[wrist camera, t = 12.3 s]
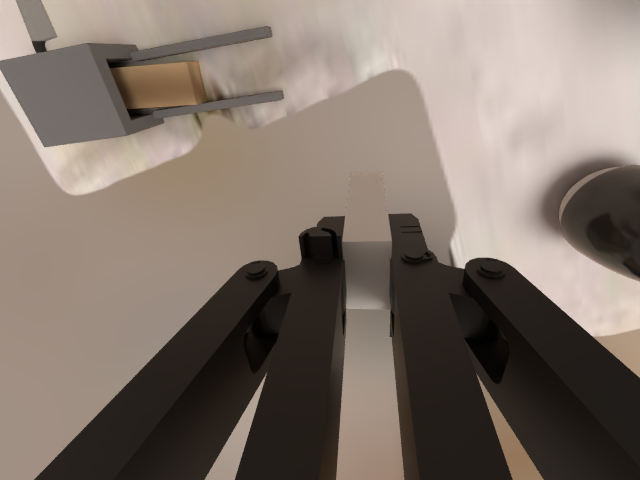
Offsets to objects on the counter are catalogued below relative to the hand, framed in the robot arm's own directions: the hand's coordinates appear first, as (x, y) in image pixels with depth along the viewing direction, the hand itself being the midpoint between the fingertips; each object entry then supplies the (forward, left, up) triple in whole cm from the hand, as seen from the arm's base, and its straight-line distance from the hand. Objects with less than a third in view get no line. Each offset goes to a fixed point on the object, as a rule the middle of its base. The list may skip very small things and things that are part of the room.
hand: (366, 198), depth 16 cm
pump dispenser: (+12, +25, -23) cm, 36 cm away
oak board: (-7, -24, -23) cm, 34 cm away
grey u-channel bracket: (-7, -21, -23) cm, 32 cm away
